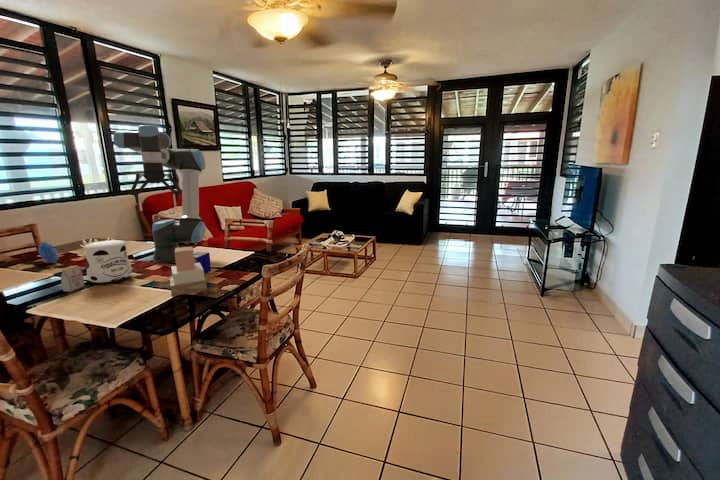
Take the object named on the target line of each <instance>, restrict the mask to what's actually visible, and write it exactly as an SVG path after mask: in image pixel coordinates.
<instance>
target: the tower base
mask: <svg viewBox="0 0 720 480" xmlns="http://www.w3.org/2000/svg"><path fill="white" fill-rule="evenodd" d="M204 279H205V280H202V281H196V282H190V283H184V284H178V285H174V281H173V277H172V275H171V276H169V287H170V293H171V294H170V295H171V297H175V296H176V297H177V296H180V295H188V294H195V293H200V292H205V291H208V286H207V280H206V277H205V275H204Z"/></svg>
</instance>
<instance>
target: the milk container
mask: <svg viewBox="0 0 720 480" xmlns="http://www.w3.org/2000/svg"><path fill="white" fill-rule="evenodd" d="M84 252H85V257H86V258H85V259H86V262H87V269H86V275H87V278H88V280H89V281H90V282H91V283H94V284H102V285H103V284H111V283H117V282H121V281H122V280H125V279H127V278H129V277H131V275H132V264H131V262H130V261H129V258H128V257H129V255H128V250H127V246H126V242H125V241H124V240H120V239H119V240H118V239H114V240H113V239H112V240H100V241H95V242H90V243H88V244H86V245H85V246H84Z"/></svg>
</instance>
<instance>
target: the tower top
mask: <svg viewBox="0 0 720 480" xmlns="http://www.w3.org/2000/svg"><path fill="white" fill-rule="evenodd" d="M170 267H171V268H170V269H171V276H172V277H173V281H174V285H178V284H184V283H190V282H196V281H202V280H205V279H206V278H205V279H204V276H205V274H204V269H203V268H202V266H201V264H200V263H195V270H187V271H178V272H177V268H176V265H172V266H170Z"/></svg>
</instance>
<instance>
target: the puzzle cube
mask: <svg viewBox="0 0 720 480" xmlns="http://www.w3.org/2000/svg"><path fill="white" fill-rule="evenodd" d="M193 253H194V262H195V263H200V264H201V266H202V268H203V269H204V275H205V274H207V273H209V272H210V271H211V272H212V267H211V265H212V264H211V257H210V255H211V254H210V252H206V251H204V252H203V251H194V250H193Z"/></svg>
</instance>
